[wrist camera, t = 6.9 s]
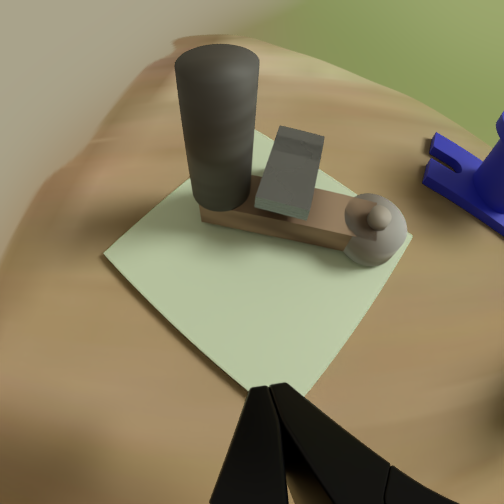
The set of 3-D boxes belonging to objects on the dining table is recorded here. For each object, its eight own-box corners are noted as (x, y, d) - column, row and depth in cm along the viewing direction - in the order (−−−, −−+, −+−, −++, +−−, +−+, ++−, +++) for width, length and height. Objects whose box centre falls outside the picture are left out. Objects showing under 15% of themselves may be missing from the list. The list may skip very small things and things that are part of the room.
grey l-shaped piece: (394, 218, 22) (467, 104, 12) (395, 272, 20) (492, 164, 10) (205, 177, 23) (194, 38, 13) (186, 228, 21) (157, 84, 11)
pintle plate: (283, 419, 17) (285, 419, 16) (106, 257, 21) (103, 253, 20) (409, 240, 23) (412, 236, 22) (253, 134, 27) (254, 129, 26)
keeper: (310, 183, 24) (324, 136, 20) (294, 253, 22) (309, 210, 17) (272, 173, 25) (279, 125, 20) (251, 241, 22) (255, 196, 17)
